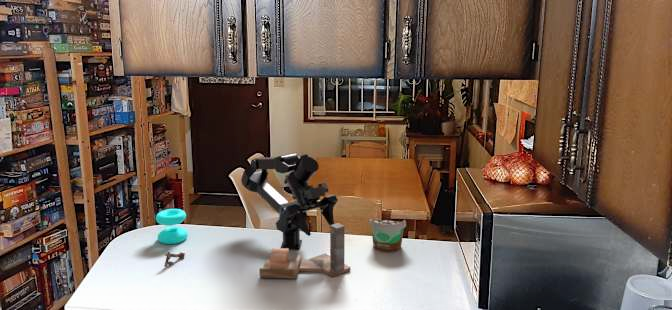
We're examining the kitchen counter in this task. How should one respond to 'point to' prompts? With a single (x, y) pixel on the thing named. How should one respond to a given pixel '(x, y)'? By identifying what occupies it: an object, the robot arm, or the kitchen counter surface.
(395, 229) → the food container
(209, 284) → the kitchen counter surface
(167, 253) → the dark triangular frame
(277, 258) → the block
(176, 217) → the donuts
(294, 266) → the pull board
